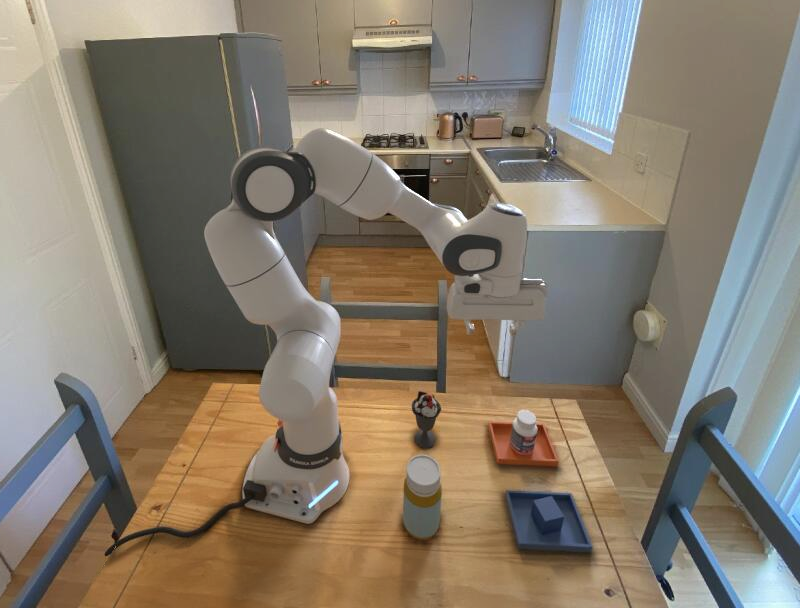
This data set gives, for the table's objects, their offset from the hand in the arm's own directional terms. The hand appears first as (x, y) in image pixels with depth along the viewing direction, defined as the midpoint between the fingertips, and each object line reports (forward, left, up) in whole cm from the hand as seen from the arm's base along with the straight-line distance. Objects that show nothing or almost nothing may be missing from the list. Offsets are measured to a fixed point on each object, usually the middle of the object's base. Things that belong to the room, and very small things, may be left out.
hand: (491, 333), depth 92 cm
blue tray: (+8, -23, -27) cm, 36 cm away
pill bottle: (+8, -6, -27) cm, 29 cm away
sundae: (-14, -5, -27) cm, 31 cm away
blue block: (+8, -23, -27) cm, 36 cm away
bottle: (-16, -24, -27) cm, 40 cm away
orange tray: (+8, -6, -27) cm, 29 cm away
